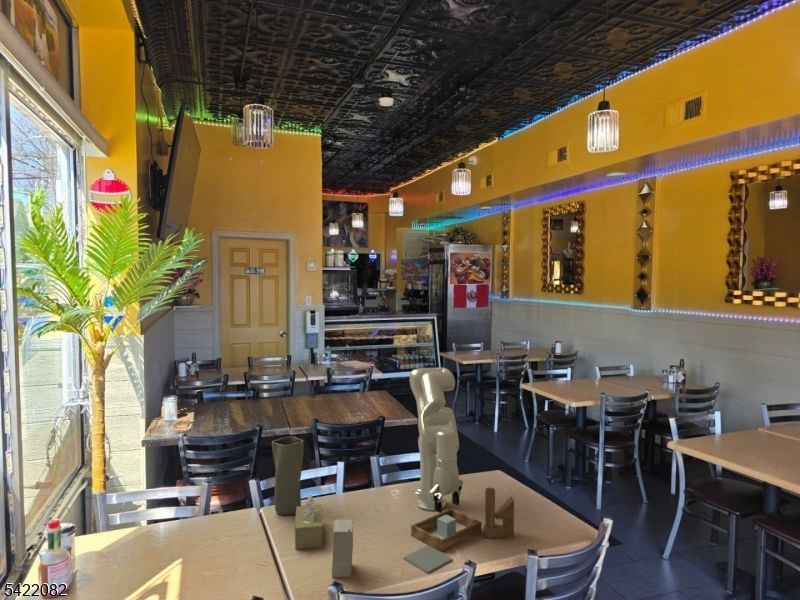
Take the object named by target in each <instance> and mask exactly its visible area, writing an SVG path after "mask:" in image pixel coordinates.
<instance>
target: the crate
mask: <svg viewBox="0 0 800 600" xmlns="http://www.w3.org/2000/svg"><path fill="white" fill-rule="evenodd" d="M444 515H448V516H450V517H453V518H455V519H456V524H457V523H458V524H460V525H462V526H464V528H463V529H460V530H458V531H456V533H454V534H452V535H450V536H448V537H446V538H444V537H443V538H440V537H438V536H436V535H434V534H432V533H430V532H429V530H431V529H434V528H436V527H437V518H440V517H442V516H444ZM410 527H411V529H410V534H411V535H410V536H411V537H413V538H414V539H416V540H417V541H420V542H421V543H424V544H425V545H426V546H430V547H432V548H434V549H436V550H437V551H439V552H441V553H444V552H445V551H448V550H450V549H452V548H453V547H456V546H457V545H459V544H462V543H463V542H465V541H467V540H469V539H471V538H473V537H475V536H477V535H479V534H480V533H482V521H480V520H479V519H475V518H474V517H472V516H470V515H468V514H465V513H462V512H460V511H458V510H456V509H453V508H448V509H446V510H444V511H443V510H442V513H439V512H438V513H437V514H435V515H432V516H430V517H428V518H426V519H422V520H420V521H419V522H415V523H414V524H412V525H410Z"/></svg>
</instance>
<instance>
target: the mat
mask: <svg viewBox="0 0 800 600" xmlns="http://www.w3.org/2000/svg"><path fill="white" fill-rule="evenodd" d="M402 558H403V560H404V561H406V562H408V563H409V564H412V565H413V566H415V567H416V568H417V569H419V570H421V571H423V572H424V573H426V574H430V573H431V572H434V571H435V570H437V569H439V568H441V567H442V566H445V565H446V564H448V563H450V562H452V561H453V558H452V557H450V556H449V555H448V554H445V553H444V552H440V551H438V550H436V549H435V548H433V547H431V546H429V545H426V546H424V547H421V548H420V549H417V550H415V551H413V552H412V553H409V554H407V555H404V556H403V557H402Z"/></svg>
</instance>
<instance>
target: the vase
mask: <svg viewBox="0 0 800 600" xmlns="http://www.w3.org/2000/svg"><path fill="white" fill-rule="evenodd" d="M271 448H272V455H273V461H274V466H275V473H274V474H275V476H274V510H275V512H276V513H277V514H278V515H283V516H291V515H296V507H297V506H302V497H301V478H302V471H303V470H302V469H303V462H304V461H303V459H304V448H305V447H304V439H302V438H297V437H296V436H285V437H281V438H278V439H274V440H272V441H271Z"/></svg>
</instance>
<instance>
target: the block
mask: <svg viewBox="0 0 800 600" xmlns="http://www.w3.org/2000/svg"><path fill="white" fill-rule="evenodd" d="M436 527H437V530H436V531H437V533H436V534H437V535H439V536H440V537H442V538H443V539H444V538H446V537H448V536H450V535H452V534H454V533H456V532H457V522H456V519H455V518H453V517H450V516H448V515H444V516H442V517H440V518H437V526H436Z"/></svg>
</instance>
